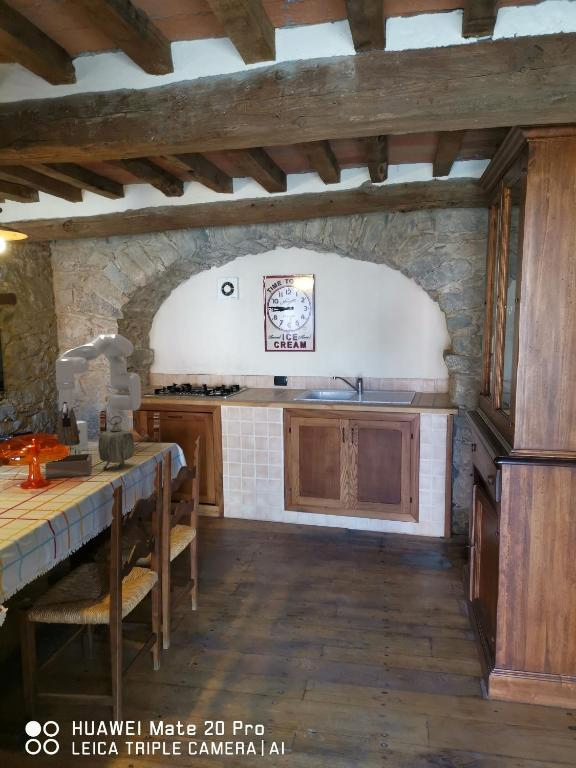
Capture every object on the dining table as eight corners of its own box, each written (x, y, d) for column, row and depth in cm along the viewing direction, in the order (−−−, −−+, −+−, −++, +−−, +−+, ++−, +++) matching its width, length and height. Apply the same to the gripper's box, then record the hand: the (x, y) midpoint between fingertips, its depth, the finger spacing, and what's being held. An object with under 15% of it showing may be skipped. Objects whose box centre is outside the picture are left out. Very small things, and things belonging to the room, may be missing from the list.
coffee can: (60, 457, 269) (58, 430, 268) (81, 455, 273) (80, 428, 271) (58, 461, 260) (57, 434, 258) (81, 460, 263) (79, 432, 262)
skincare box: (82, 447, 289) (81, 420, 288) (88, 449, 285) (87, 421, 284) (68, 450, 283) (66, 422, 281) (74, 452, 279) (73, 423, 277)
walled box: (51, 470, 244) (50, 456, 243) (92, 467, 249) (91, 453, 248) (46, 479, 230) (45, 463, 230) (89, 476, 235) (88, 460, 235)
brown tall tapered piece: (62, 447, 232) (58, 391, 231) (55, 445, 238) (52, 390, 236) (81, 444, 238) (78, 389, 237) (74, 442, 244) (72, 389, 242)
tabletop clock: (123, 463, 257) (121, 413, 255) (136, 465, 253) (134, 414, 250) (99, 470, 245) (97, 417, 242) (112, 472, 240) (110, 419, 238)
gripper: (59, 384, 242) (61, 422, 244) (53, 388, 226) (55, 429, 228) (76, 383, 244) (78, 421, 246) (72, 387, 228) (74, 428, 230)
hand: (67, 425), depth 237 cm, fingers closed on brown tall tapered piece, 5 cm apart
